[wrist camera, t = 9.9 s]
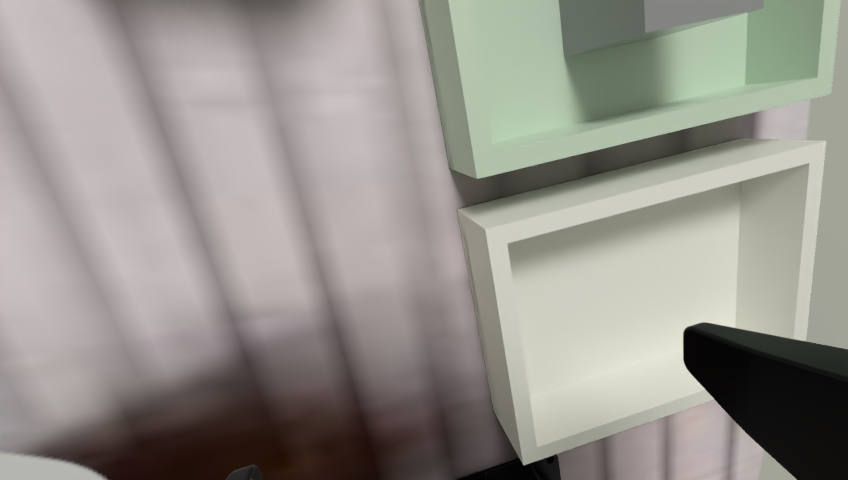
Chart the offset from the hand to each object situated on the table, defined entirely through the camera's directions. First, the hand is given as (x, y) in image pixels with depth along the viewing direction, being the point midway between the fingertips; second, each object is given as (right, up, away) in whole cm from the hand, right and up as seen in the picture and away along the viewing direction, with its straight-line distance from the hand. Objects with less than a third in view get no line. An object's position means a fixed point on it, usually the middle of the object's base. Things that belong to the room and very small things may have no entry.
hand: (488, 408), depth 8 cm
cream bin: (+9, +1, +14) cm, 17 cm away
